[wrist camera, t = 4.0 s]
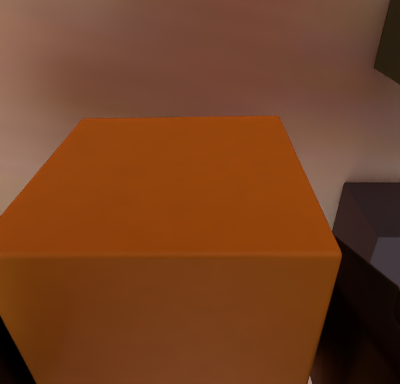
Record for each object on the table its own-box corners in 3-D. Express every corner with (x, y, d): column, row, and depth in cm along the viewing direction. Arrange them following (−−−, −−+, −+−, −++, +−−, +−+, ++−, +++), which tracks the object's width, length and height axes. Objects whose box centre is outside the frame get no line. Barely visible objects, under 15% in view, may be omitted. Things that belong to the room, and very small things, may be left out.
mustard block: (269, 260, 11) (303, 432, 7) (113, 260, 11) (57, 428, 7) (285, 114, 9) (358, 253, 4) (81, 117, 9) (-36, 254, 5)
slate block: (406, 246, 23) (449, 307, 19) (328, 245, 23) (354, 306, 19) (432, 182, 20) (489, 238, 16) (344, 182, 21) (378, 237, 16)
